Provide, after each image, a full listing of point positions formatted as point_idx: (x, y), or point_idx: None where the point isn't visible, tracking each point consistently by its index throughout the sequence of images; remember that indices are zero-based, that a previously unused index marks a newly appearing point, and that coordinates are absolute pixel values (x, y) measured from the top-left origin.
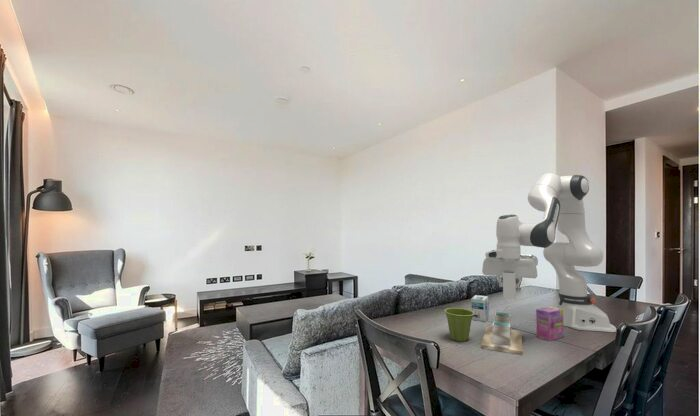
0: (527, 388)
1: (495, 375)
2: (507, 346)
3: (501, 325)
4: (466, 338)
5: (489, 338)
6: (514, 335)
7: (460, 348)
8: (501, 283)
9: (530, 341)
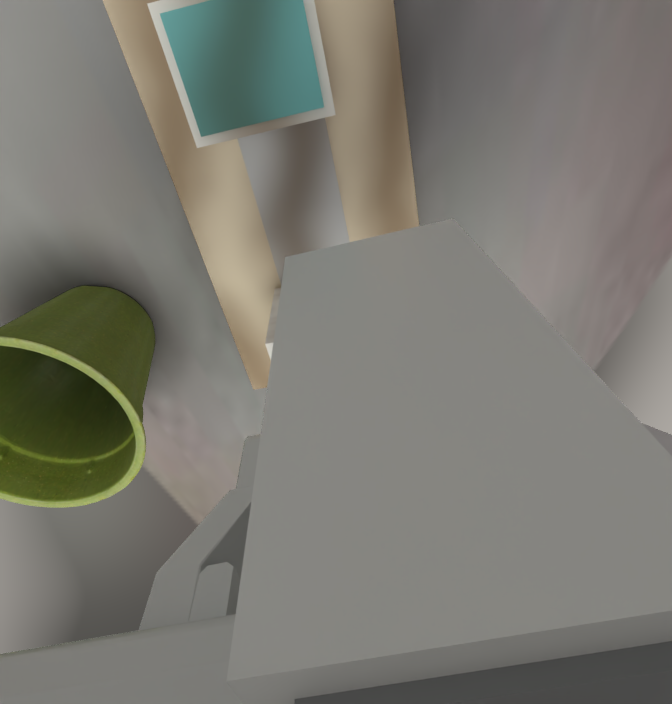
0: None
1: None
2: None
3: None
4: (153, 351)
5: (245, 275)
6: (355, 94)
7: (188, 432)
8: None
9: (456, 86)
